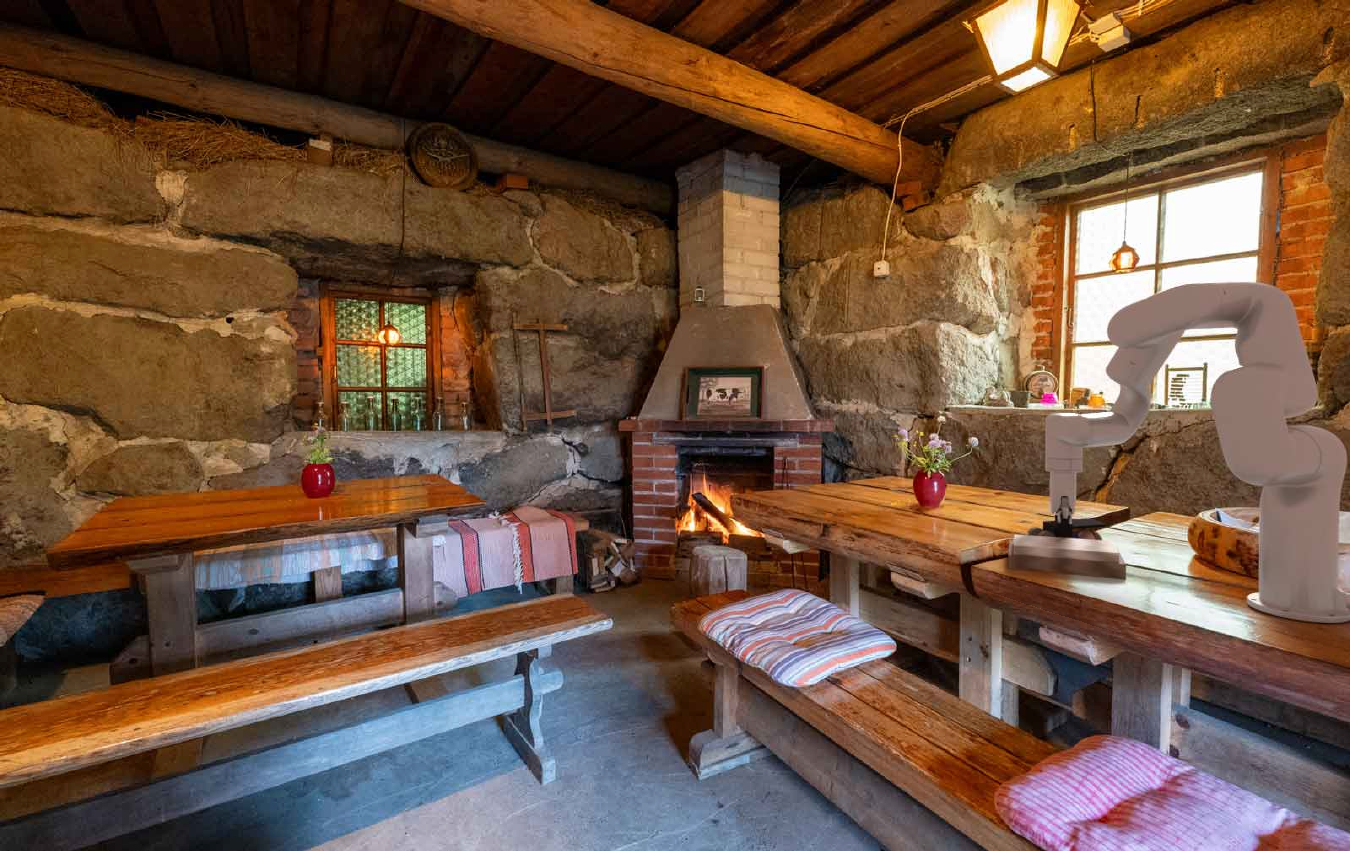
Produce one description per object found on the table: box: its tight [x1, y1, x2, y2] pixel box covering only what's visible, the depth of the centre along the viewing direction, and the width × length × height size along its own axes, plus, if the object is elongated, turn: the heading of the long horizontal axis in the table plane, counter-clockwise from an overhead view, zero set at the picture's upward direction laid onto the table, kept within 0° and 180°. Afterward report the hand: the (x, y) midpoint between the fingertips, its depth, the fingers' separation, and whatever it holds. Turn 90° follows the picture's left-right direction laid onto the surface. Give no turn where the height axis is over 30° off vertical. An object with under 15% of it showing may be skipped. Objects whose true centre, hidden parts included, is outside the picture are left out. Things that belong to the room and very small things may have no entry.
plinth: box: [1008, 534, 1127, 580], centre depth 136 cm, size 21×13×5 cm, turn 60°
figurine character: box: [1027, 517, 1107, 540], centre depth 148 cm, size 7×8×15 cm
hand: (1063, 535), depth 148 cm, fingers open, 9 cm apart
